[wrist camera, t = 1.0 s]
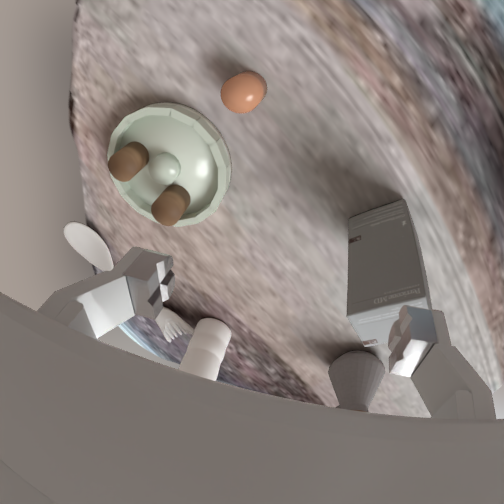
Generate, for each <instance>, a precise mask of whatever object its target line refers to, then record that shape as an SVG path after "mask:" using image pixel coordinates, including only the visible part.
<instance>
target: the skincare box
mask: <svg viewBox="0 0 504 504" xmlns="http://www.w3.org/2000/svg"><path fill="white" fill-rule="evenodd" d="M348 232H349V234H348V291H347V318H348V320H349V321H350V323H351V325H352V326H353V328H354V330H355V332H356V333H357V335H358V337H359V338H360V340H361V342H362V343H363V345H364V347H368V346H374V345H379V344H384V343H388V339H389V333H390V330H391V327H392V325H393V323H394V322H395V321H396V320H398V319H399V311H400V309H401V307H402V306H403V305H409V306H414V307H420V308H425V309H432V304H431V298H430V292H429V287H428V281H427V276H426V271H425V266H424V261H423V256H422V252H421V247H420V243H419V239H418V235H417V232H416V229H415V226H414V223H413V220H412V218H411V215H410V212H409V209H408V206H407V204H406V201H405V200H404V199H401V200H399V201H397V202H394V203H391V204H388V205H385V206H382V207H379V208H376V209H373V210H370V211H367V212H365V213H362V214H359V215H357V216H354V217H352V218H350V219H349V220H348Z"/></svg>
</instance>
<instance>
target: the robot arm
mask: <svg viewBox="0 0 504 504" xmlns="http://www.w3.org/2000/svg"><path fill="white" fill-rule="evenodd" d="M172 266H173V258H172V256H170V255H168V254H164V253H160V252H156V251H152V250H148V249H144V248H140V247H132V248H131V249H130V250H129V251H128V252H127V253H126V255H125V256H124V257H123V258H122V259H121V260H120V261H119V262H118V263H117V264H116V265H115V266H114V268H113V269H112V270H111V271H104V272H102V273H99V274H97V275H94V276H92V277H89V278H87V279H84V280H82V281H79V282H77V283H74V284H72V285H69V286H67V287H65V288H62V289H60V290H57V291H55V292H54V293H53V294H52V295H51V296H50V297H49V298H48V299H47V301H46V302H45V303H44V304H43V305H42V306H41V307H40V308H39V309H38V311H35V310H33V309H31V308H29V307H27V306H25V305H23V304H21V303H19V302H17V301H16V300H14V299H12V298H10V297H8V296H7V295H5V294H3V293H1V292H0V504H504V419H496V415H495V409H494V403H493V398H492V392H491V390H490V389H489V387H488V386H487V385H486V384H485V382H484V381H483V380H482V379H481V377H480V376H479V375H478V374H477V372H476V371H475V370H474V369H473V367H472V366H471V365H470V364H469V363H468V361H467V360H466V359H465V358H464V357H463V355H462V354H461V353H460V352H459V351H458V349H457V348H456V347H455V346H451V341H450V337H449V333H448V328H447V324H446V320H445V316H444V313H443V312H442V311H439V310H433V309H425V308H420V307H414V306H409V305H403V306H402V307H401V309H400V311H399V319H398V320H396V321H395V322H394V323H393V325H392V327H391V330H390V333H389V339H388V348H389V349H390V350H391V352H392V353H391V355H390V357H389V373H392V374H398V375H404V376H410V377H411V379H412V381H413V383H414V385H415V387H416V388H417V390H418V392H419V394H420V396H421V397H422V399H423V401H424V403H425V405H426V407H427V409H428V410H429V412H430V414H431V416H432V417H431V418H420V417H407V416H396V415H386V414H377V413H369V412H361V411H354V410H347V409H340V408H334V407H328V406H322V405H316V404H311V403H305V402H300V401H295V400H290V399H285V398H281V397H276V396H272V395H267V394H263V393H259V392H255V391H251V390H247V389H243V388H239V387H235V386H232V385H228V384H224V383H221V382H217V381H214V380H210V379H207V378H203V377H200V376H197V375H193V374H190V373H187V372H184V371H181V370H178V369H175V368H171V367H168V366H166V365H163V364H160V363H157V362H154V361H151V360H148V359H146V358H143V357H140V356H138V355H135V354H132V353H129V352H127V351H124V350H122V349H119V348H117V347H114V346H112V345H109V344H107V343H104V342H102V341H100V340H97V338H98V337H100V336H102V335H103V334H105V333H106V332H108V331H110V330H111V329H113V328H115V327H116V326H118V325H120V324H121V323H123V322H124V321H126V320H128V319H129V318H131V317H133V316H134V315H135V314H137V315H140V316H143V317H147V318H150V319H154V320H155V319H156V318H157V316H158V315H159V313H160V312H161V310H162V309H163V301H166V300H168V299H169V298H170V296H171V294H172V292H173V289H174V286H175V275H174V273H173V272H172V271H171V268H172Z"/></svg>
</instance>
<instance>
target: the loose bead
mask: <svg viewBox="0 0 504 504" xmlns="http://www.w3.org/2000/svg"><path fill="white" fill-rule="evenodd" d="M266 93H267V84H266V81H265V80H264V78H263V77H262V76H261V75H260V74H258V73H256V72H253V71H245V72H242V73H240V74H238V75H236V76H234V77H232V78H230V79H229V80H227V81H226V82H225V83H224V85H223V86H222V89H221V99H222V102H223V103H224V105H225V106H226V107H227V108H228V109H229V110H231V111H233V112H235V113H247V112H250V111H251V110H253V109H254V108H255V107H256V106H257V105H258V104H259V103H260V102H261V101H262V100H263V98H264V97H265V95H266Z"/></svg>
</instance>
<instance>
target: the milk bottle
mask: <svg viewBox="0 0 504 504" xmlns="http://www.w3.org/2000/svg"><path fill="white" fill-rule="evenodd" d="M230 337H231V331H230V329H229V327H228V326H227V325H226V324H225V323H223V322H222V321H220V320H217V319H214V318H204V319H201V320H200V321H199V322H198V323H197V325H196V328H195V330H194V334H193V337H192V338H191V340H190V342H189V345H188V348H187V352H186V354H185V356H184V357H183V360H182V362H181V364H180V366H179V368H178V370H181V371H184V372H187V373H190V374H193V375H197V376H200V377H203V378H207V379H210V380H214V381H216V378H217V375H218V372H219V367H220V363H221V362H222V360H223V358H224V355H225V350H226V347H227V345H228V343H229V340H230Z"/></svg>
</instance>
